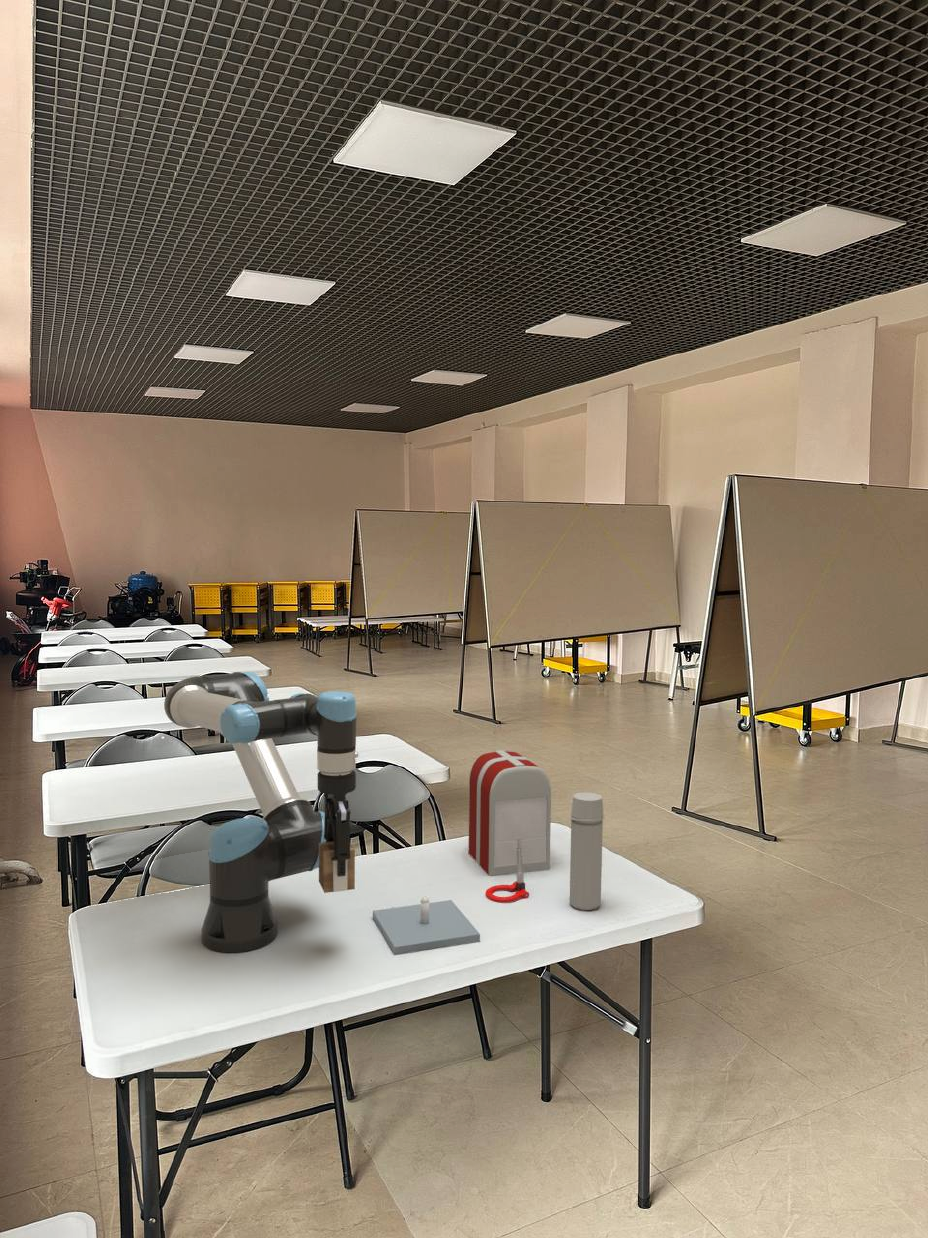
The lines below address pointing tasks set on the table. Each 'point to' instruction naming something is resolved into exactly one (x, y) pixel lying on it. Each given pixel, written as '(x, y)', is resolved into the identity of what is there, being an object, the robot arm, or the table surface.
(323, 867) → the block
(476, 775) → the striped mailbox
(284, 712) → the robot arm
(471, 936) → the pin plate
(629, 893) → the table surface
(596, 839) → the water bottle
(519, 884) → the tow hook
